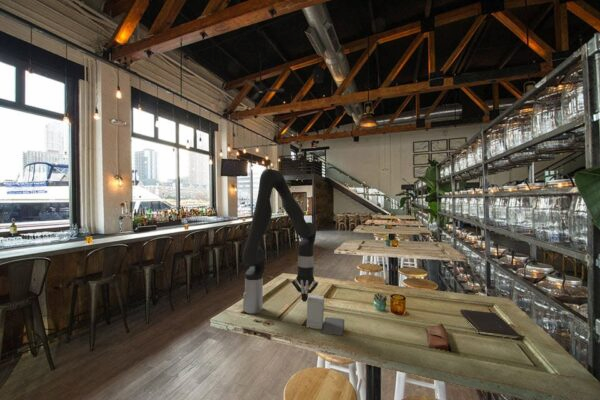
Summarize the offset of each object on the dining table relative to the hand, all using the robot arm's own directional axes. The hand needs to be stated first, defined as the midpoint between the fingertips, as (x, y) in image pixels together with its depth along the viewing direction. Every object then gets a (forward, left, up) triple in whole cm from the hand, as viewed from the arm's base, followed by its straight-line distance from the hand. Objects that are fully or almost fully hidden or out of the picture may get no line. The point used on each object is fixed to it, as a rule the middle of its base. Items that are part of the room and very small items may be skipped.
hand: (304, 301), depth 123 cm
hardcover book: (+86, +19, -12) cm, 89 cm away
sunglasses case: (+58, 0, -12) cm, 59 cm away
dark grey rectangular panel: (+14, +1, -11) cm, 17 cm away
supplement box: (+5, 0, -11) cm, 12 cm away
